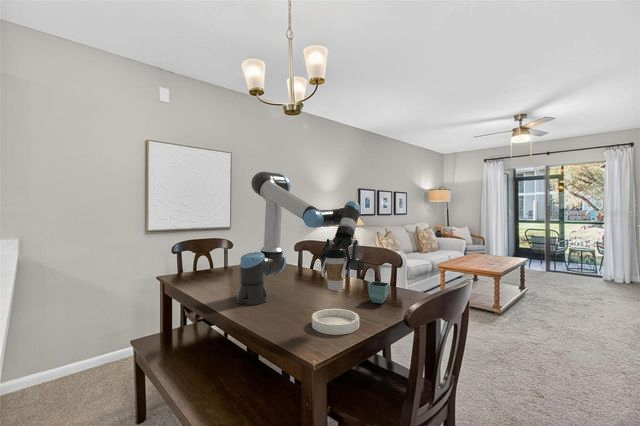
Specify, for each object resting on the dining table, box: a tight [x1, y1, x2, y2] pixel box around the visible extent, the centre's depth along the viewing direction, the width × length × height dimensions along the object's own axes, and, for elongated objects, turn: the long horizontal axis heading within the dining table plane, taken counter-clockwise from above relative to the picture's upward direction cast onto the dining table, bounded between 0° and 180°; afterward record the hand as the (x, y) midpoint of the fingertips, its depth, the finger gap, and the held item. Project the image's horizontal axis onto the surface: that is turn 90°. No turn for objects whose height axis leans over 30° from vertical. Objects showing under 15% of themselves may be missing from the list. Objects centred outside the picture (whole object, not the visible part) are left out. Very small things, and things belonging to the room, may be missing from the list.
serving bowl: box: [311, 308, 361, 336], centre depth 122 cm, size 18×18×4 cm
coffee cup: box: [325, 249, 347, 291], centre depth 122 cm, size 8×8×15 cm
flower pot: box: [367, 281, 390, 305], centre depth 152 cm, size 9×9×9 cm
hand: (332, 275), depth 118 cm, fingers closed on coffee cup, 8 cm apart
